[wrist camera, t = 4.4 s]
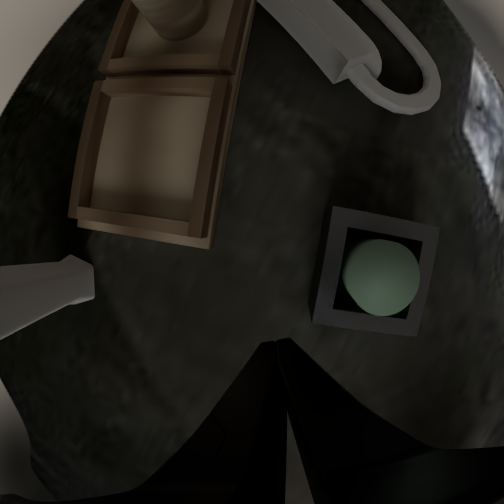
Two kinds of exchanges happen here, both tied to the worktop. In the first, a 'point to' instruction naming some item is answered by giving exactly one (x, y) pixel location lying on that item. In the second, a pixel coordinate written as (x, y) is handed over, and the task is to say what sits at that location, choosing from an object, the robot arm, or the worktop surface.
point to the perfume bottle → (41, 290)
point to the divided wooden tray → (161, 127)
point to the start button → (379, 275)
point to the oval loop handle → (355, 49)
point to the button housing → (329, 264)
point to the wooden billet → (174, 17)
